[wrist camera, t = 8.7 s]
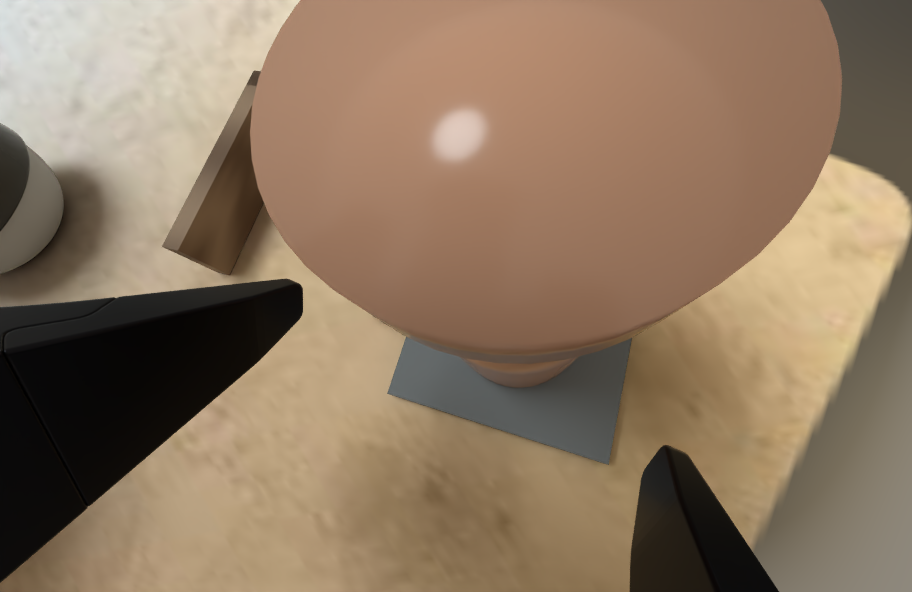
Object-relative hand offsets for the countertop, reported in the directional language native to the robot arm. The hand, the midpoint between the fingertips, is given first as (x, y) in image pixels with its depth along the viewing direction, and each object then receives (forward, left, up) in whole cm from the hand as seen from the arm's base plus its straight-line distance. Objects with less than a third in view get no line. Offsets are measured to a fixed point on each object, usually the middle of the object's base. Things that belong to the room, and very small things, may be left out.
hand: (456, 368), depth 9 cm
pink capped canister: (+3, -1, -9) cm, 9 cm away
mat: (+4, -1, -9) cm, 10 cm away
